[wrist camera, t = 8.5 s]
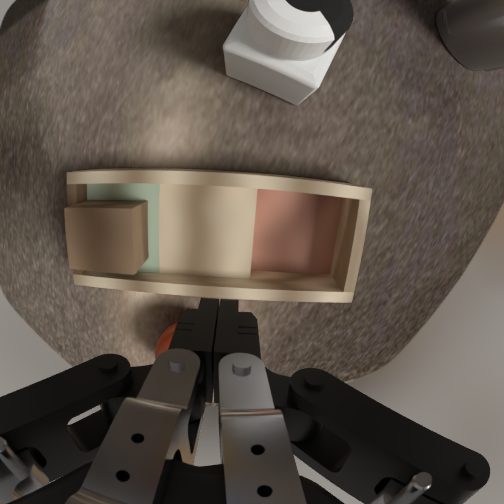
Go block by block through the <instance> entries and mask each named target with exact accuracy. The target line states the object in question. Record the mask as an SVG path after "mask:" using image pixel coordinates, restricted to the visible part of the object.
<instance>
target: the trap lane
mask: <svg viewBox="0 0 504 504" xmlns="http://www.w3.org/2000/svg"><path fill="white" fill-rule="evenodd" d="M371 194H372V189H371V188H367V187H363V186H359V185H355V184H350V183H343V182H336V181H329V180H321V179H312V178H304V177H295V176H285V175H275V174H263V173H251V172H237V171H220V170H200V169H164V168H122V169H90V170H81V171H74V172H67V207H68V206H71V205H74V204H77V203H79V202H82V201H85V200H139V201H148V252H149V258H148V259H147V260H146V261H145V263H144V264H143V265H142V266H141V267H140V269H139V270H138V271H137V272H136V274H135V275H130V274H118V273H107V272H96V271H86V270H76V269H73V276H74V283H75V284H76V285H84V286H92V287H100V288H109V289H119V290H128V291H138V292H149V293H160V294H172V295H184V296H198V297H213V298H229V299H248V300H270V301H298V302H352V298H353V294H354V290H355V285H356V280H357V276H358V271H359V266H360V261H361V256H362V251H363V245H364V240H365V234H366V228H367V222H368V215H369V209H370V201H371Z"/></svg>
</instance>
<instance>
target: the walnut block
mask: <svg viewBox="0 0 504 504" xmlns="http://www.w3.org/2000/svg"><path fill="white" fill-rule="evenodd" d="M64 215H65V230H66V242H67V251H68V260H69V268H70V269H76V270H86V271H96V272H107V273H118V274H130V275H135V274H136V272H137V271H138V270H139V269H140V267H141V266H142V265H143V264H144V263H145V261H146V260H147V259H148V258H149V252H148V201H139V200H85V201H82V202H79V203H77V204H74V205H71V206H68V207H65V208H64Z"/></svg>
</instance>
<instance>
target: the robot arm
mask: <svg viewBox="0 0 504 504" xmlns="http://www.w3.org/2000/svg"><path fill="white" fill-rule="evenodd" d="M436 24H437V28H438V31H439V34H440V36H441V38H442V40H443V42H444V44H445V46H446V47H447V49H448V50H449V51H450V53H451V54H452V55H453V56H454V58H455V59H456V60H457V61H458V62H459V63H461V64H462V65H463V66H464V67H466V68H468V69H470V70H473V71H481V70H486V71H492V70H497V69H503V68H504V0H457V1H455V2H453V3H451V4H449V5H448V6H446V7H444V8H442V9H441V10H439V12H438V13H437V17H436ZM213 389H214V403H219V440H220V458H221V464H218V465H211V466H201V467H199V466H194V459H195V454H196V449H197V445H198V440H199V436H200V431H201V426H202V422H203V413H204V410H205V402H208V403H212V400H213ZM98 405H100V407H101V410H99V411H97V412H95V413H93V414H91V415H89V416H87V417H85V418H83V419H81V420H79V421H77V422H75V423H73V424H71V425H67V424H68V422H69V421H70V420H71V419H72V418H73V417H76V416H78V415H80V414H82V413H84V412H86V411H88V410H90V409H92V408H94V407H96V406H98ZM293 454H294V455H295V456H297V457H298V458H299V459H300V460H302V461H303V462H304V463H306V464H307V465H308V466H309V467H311V468H312V469H314V470H315V471H316V472H318V473H319V474H321V475H322V476H323V477H325V478H326V479H328V480H329V481H330V482H332V483H333V484H335V485H336V486H338V487H339V488H341V489H342V490H344V491H345V492H347V493H348V494H350V495H351V496H353V497H355V498H356V499H358V500H359V501H361V502H362V503H364V504H463V503H464V502H465V501H467V500H468V499H469V498H470V497H471V496H473V495H474V494H475V493H476V492H477V491H479V490H480V489H481V488H482V487H483V486H484V485H485V484H486V483H487V481H488V479H489V477H490V467H489V464H488V462H487V460H486V459H485V458H484V457H483V456H482V455H481V454H479V453H477V452H475V451H473V450H471V449H469V448H466V447H464V446H462V445H460V444H458V443H456V442H453V441H452V440H450V439H447V438H445V437H443V436H441V435H439V434H437V433H435V432H433V431H431V430H429V429H427V428H425V427H423V426H422V425H420V424H418V423H416V422H414V421H412V420H410V419H408V418H406V417H404V416H402V415H401V414H399V413H397V412H395V411H393V410H391V409H390V408H388V407H386V406H384V405H382V404H381V403H379V402H377V401H375V400H374V399H372V398H370V397H368V396H367V395H365V394H363V393H361V392H360V391H358V390H356V389H354V388H353V387H351V386H349V385H348V384H346V383H344V382H343V381H341V380H339V379H338V378H336V377H334V376H333V375H331V374H329V373H328V372H326V371H323V370H320V369H316V368H305V369H301V370H298V371H297V372H295V373H294V374H293V375H292V377H287V376H283V375H279V374H276V373H273V372H271V371H270V370H268V369H267V368H266V367H265V366H264V363H263V362H262V361H261V354H260V344H259V335H258V324H257V319H256V317H255V316H254V315H253V314H252V313H251V312H238V300H233V299H221V300H220V307H219V299H215V298H201V300H200V304H199V308H198V309H187V310H185V311H184V312H183V313H182V314H180V316H179V319H178V322H177V325H176V328H175V331H174V333H173V336H172V339H171V342H170V345H169V348H168V350H166V351H164V352H162V353H161V354H159V355H158V356H157V358H156V360H155V362H154V364H151V365H147V366H137V367H130V363H129V361H128V360H127V359H126V358H125V357H123V356H121V355H118V354H104V355H100V356H97V357H95V358H93V359H91V360H88V361H86V362H84V363H81V364H79V365H77V366H75V367H72V368H70V369H68V370H65V371H63V372H61V373H58V374H56V375H53V376H51V377H49V378H46V379H44V380H42V381H39V382H37V383H34V384H32V385H29V386H27V387H25V388H22V389H20V390H17V391H14V392H12V393H9V394H7V395H5V396H2V397H0V504H344V503H343V502H341V501H340V500H339V499H337V498H336V497H335V496H333V495H332V494H331V493H329V492H328V491H326V490H325V489H324V488H322V487H321V486H320V485H318V484H317V483H315V482H313V481H312V480H309V479H307V478H305V477H303V476H299V474H298V470H297V467H296V463H295V459H294V455H293ZM60 477H61V478H60ZM58 478H59V479H58ZM56 479H57V480H56ZM53 480H55V481H53ZM51 481H53V482H51ZM49 482H51V483H49Z"/></svg>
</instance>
